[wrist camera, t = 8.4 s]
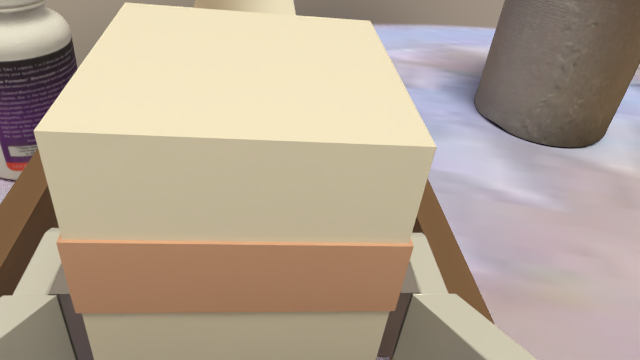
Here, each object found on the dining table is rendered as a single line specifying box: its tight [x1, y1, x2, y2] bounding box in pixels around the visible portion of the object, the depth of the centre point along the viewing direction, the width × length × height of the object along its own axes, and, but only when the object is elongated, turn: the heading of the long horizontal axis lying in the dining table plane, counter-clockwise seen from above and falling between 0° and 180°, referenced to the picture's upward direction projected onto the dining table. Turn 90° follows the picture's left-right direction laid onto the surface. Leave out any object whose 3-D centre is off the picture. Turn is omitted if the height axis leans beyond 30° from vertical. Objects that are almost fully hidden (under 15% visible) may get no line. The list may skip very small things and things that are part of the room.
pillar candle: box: [475, 0, 640, 147], centre depth 34 cm, size 10×10×15 cm
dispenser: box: [0, 0, 495, 360], centre depth 17 cm, size 14×22×10 cm, turn 5°
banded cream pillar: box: [34, 3, 436, 360], centre depth 10 cm, size 4×4×10 cm
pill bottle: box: [0, 0, 77, 180], centre depth 24 cm, size 5×5×10 cm
